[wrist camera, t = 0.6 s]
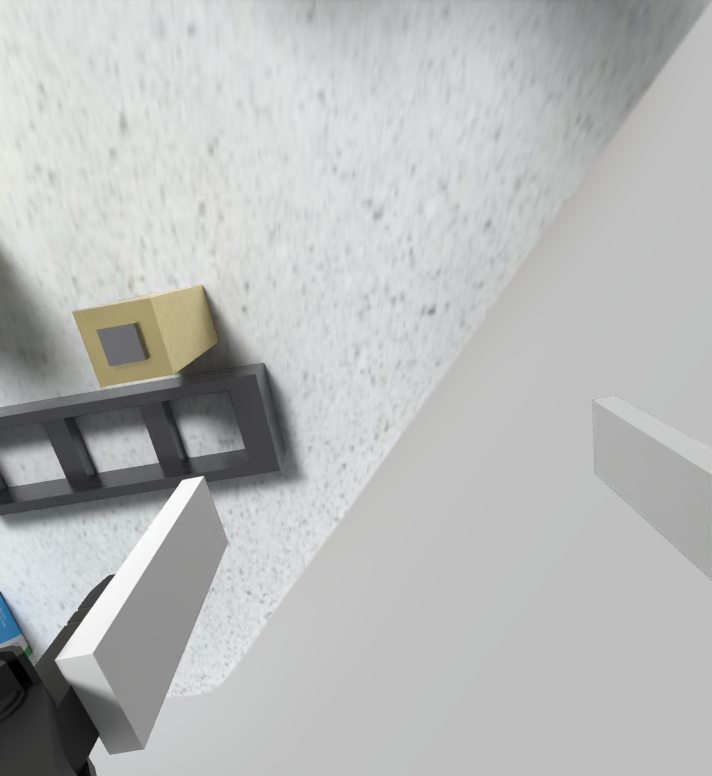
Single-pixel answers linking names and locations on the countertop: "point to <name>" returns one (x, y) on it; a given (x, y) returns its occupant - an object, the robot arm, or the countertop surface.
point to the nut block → (146, 334)
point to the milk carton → (10, 630)
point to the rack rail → (173, 465)
